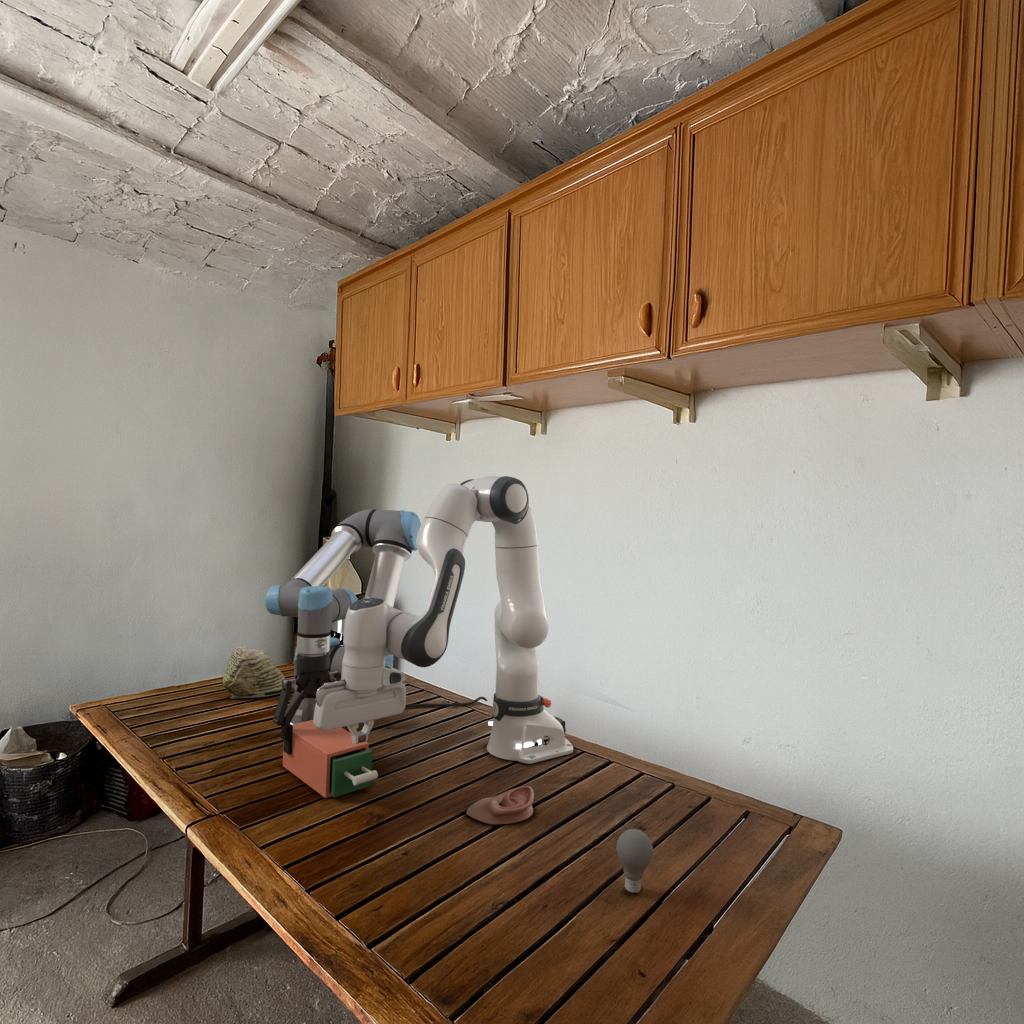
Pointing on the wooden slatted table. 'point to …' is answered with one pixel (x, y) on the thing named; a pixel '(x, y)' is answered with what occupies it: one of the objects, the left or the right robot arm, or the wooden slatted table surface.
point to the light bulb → (634, 857)
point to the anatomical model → (504, 807)
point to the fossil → (252, 674)
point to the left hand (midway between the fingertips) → (309, 746)
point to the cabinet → (317, 754)
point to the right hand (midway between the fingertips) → (359, 742)
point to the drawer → (351, 772)
